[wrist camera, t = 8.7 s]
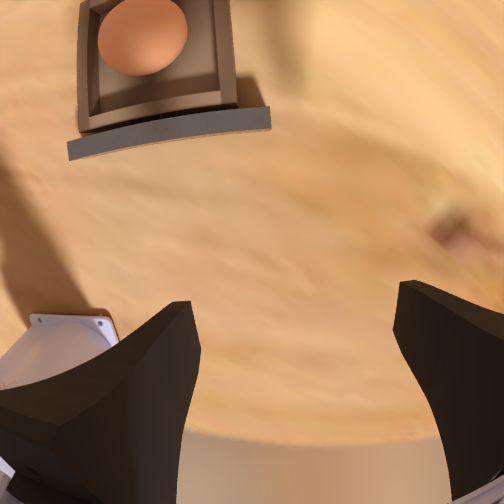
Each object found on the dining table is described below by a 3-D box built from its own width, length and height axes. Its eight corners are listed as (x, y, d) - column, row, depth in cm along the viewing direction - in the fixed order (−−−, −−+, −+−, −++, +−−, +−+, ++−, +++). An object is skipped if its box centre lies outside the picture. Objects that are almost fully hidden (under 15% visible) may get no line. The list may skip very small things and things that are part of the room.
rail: (88, 157, 17) (69, 161, 15) (87, 140, 17) (67, 142, 15) (269, 130, 17) (271, 128, 15) (267, 111, 17) (269, 106, 14)
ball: (119, 91, 16) (80, 77, 11) (118, 25, 14) (84, -2, 9) (197, 75, 15) (179, 50, 11) (192, 8, 14) (176, -30, 9)
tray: (95, 132, 17) (79, 132, 15) (93, 11, 14) (80, 3, 12) (238, 107, 16) (236, 102, 15) (227, -21, 13) (224, -35, 11)
